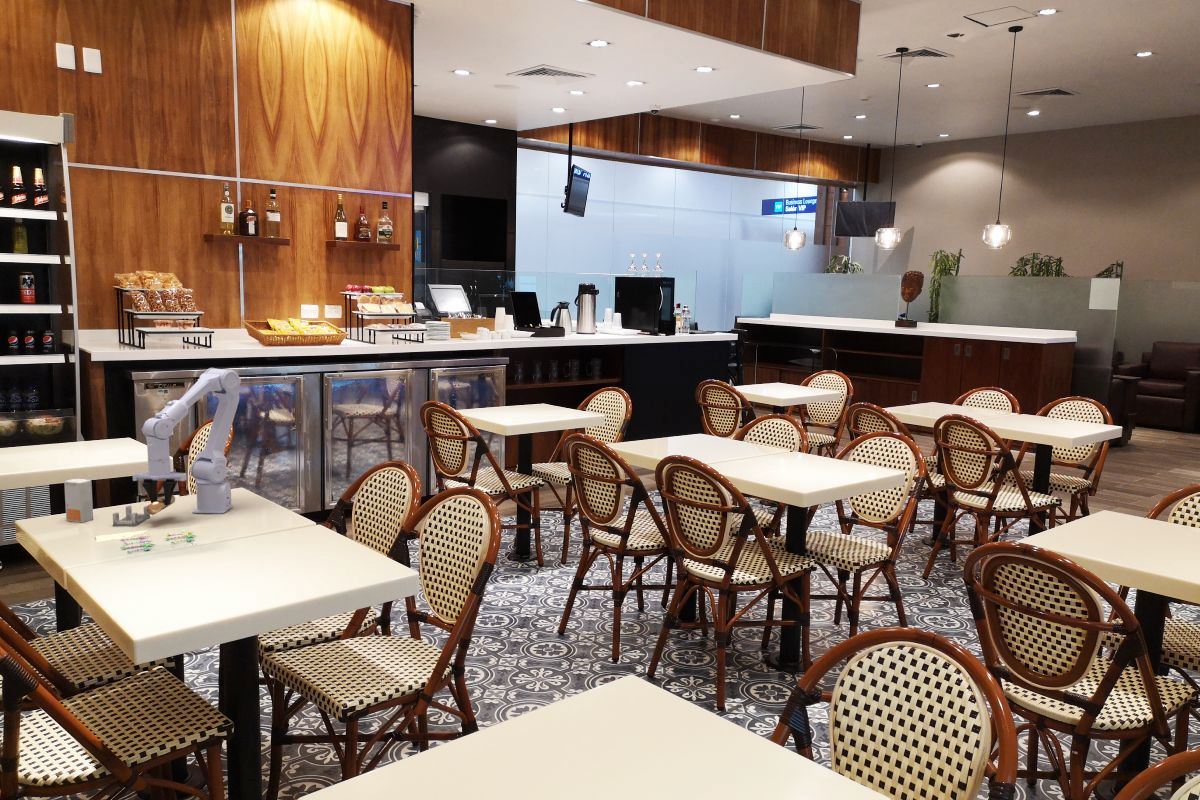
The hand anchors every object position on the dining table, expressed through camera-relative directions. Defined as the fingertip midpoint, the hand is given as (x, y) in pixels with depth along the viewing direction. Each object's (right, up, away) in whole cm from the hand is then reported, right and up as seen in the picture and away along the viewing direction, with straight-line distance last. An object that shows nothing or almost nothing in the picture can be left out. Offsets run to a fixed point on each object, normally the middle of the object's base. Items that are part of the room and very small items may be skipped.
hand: (161, 504), depth 263 cm
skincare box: (-24, -5, +1) cm, 25 cm away
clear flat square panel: (+10, -9, -20) cm, 24 cm away
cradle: (-9, -5, 0) cm, 10 cm away
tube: (0, -1, 0) cm, 2 cm away
